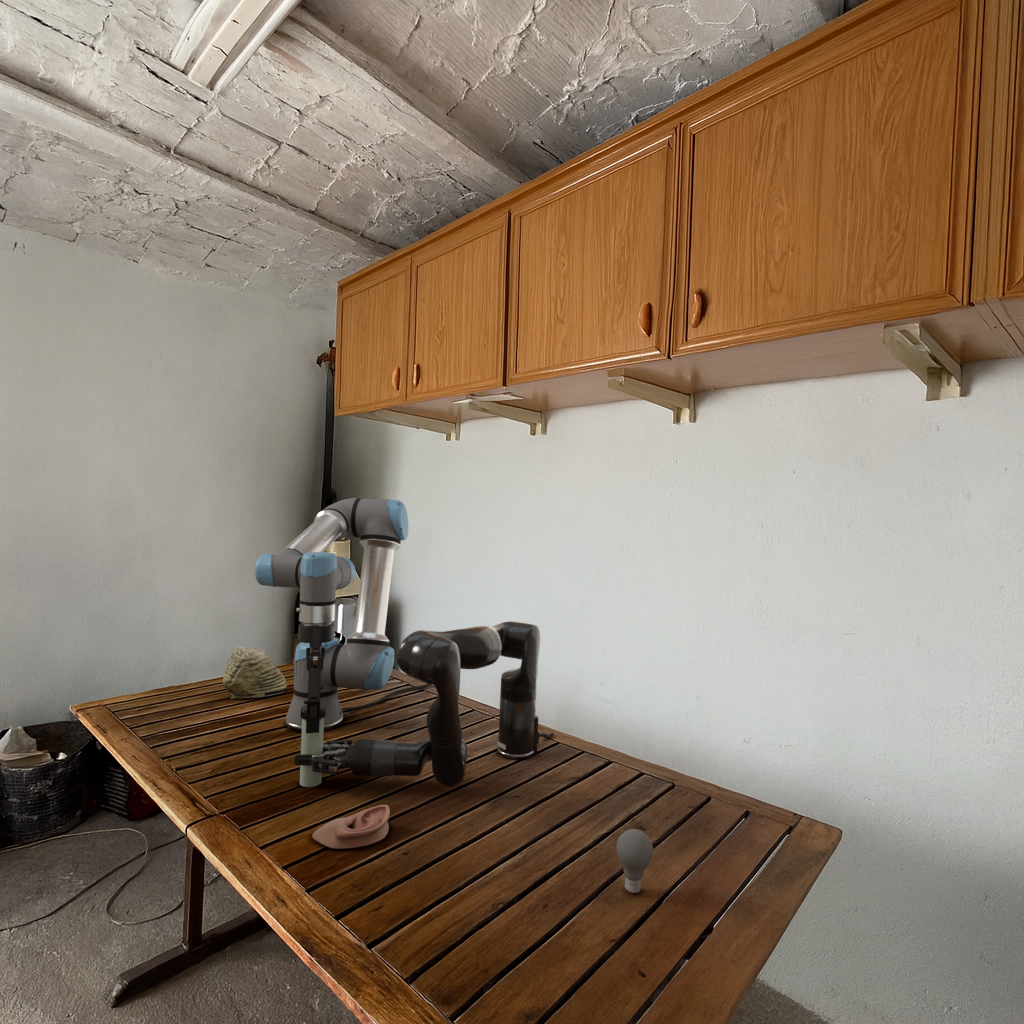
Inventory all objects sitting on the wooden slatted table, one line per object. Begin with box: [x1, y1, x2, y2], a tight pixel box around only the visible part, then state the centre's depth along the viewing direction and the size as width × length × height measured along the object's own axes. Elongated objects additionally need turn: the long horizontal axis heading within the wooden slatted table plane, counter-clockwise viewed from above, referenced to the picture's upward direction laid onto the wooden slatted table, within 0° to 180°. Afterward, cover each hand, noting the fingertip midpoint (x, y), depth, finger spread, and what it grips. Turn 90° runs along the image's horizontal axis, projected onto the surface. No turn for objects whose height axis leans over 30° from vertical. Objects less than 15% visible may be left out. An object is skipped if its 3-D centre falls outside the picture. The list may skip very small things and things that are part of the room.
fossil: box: [222, 646, 288, 699], centre depth 198 cm, size 9×18×15 cm, turn 132°
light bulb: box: [615, 828, 654, 894], centre depth 106 cm, size 6×6×10 cm
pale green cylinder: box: [299, 718, 324, 788], centre depth 140 cm, size 5×5×16 cm
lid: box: [301, 704, 326, 720], centre depth 140 cm, size 5×5×2 cm
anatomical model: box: [311, 804, 391, 850], centre depth 119 cm, size 13×4×12 cm
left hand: (312, 725), depth 140 cm, fingers open, 7 cm apart
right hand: (299, 754), depth 140 cm, fingers closed on pale green cylinder, 4 cm apart
